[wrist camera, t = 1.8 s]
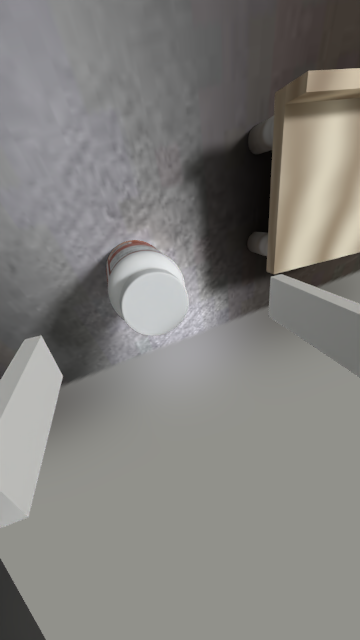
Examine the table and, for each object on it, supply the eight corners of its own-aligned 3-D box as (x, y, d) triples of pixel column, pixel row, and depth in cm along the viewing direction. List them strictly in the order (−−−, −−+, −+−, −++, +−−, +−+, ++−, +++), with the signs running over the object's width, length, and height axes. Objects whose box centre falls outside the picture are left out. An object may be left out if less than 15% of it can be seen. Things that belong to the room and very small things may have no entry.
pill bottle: (154, 300, 27) (183, 350, 17) (101, 289, 24) (100, 341, 15) (169, 248, 25) (211, 274, 15) (112, 230, 22) (120, 248, 13)
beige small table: (241, 261, 28) (287, 279, 21) (240, 115, 21) (308, 70, 14) (332, 240, 31) (399, 249, 24) (356, 104, 24) (461, 63, 17)
